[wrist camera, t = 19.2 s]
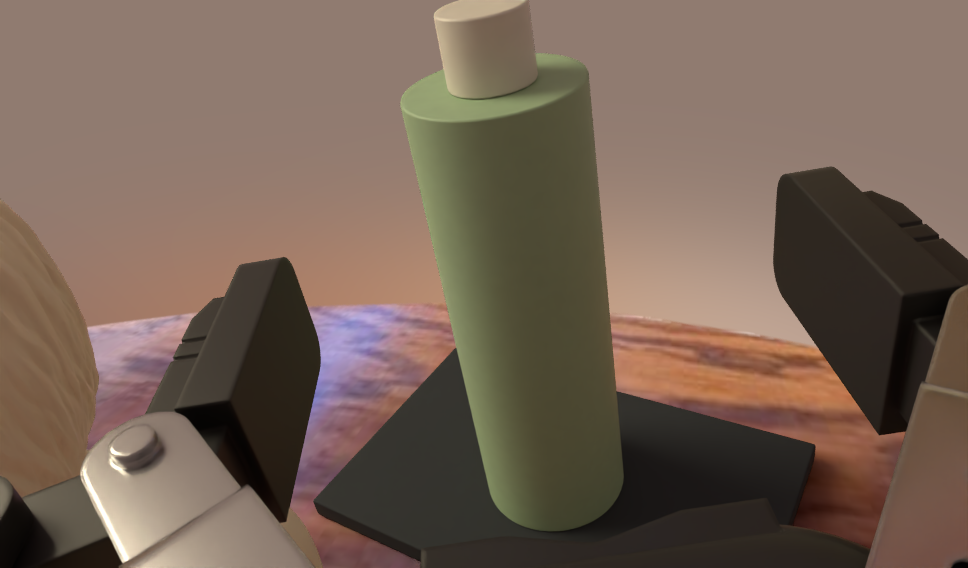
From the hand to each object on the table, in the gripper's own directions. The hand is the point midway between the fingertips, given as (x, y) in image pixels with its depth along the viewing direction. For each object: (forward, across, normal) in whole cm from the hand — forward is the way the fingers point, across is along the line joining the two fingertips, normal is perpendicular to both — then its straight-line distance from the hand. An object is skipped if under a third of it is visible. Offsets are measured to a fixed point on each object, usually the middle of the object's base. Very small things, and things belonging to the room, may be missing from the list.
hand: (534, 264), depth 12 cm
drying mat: (+9, 0, +16) cm, 18 cm away
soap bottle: (+9, 0, +15) cm, 17 cm away
